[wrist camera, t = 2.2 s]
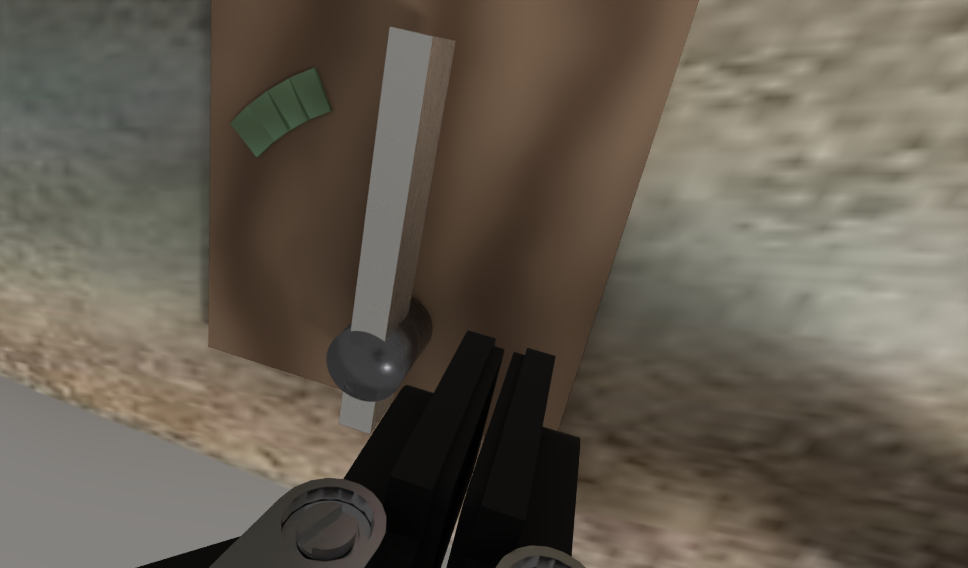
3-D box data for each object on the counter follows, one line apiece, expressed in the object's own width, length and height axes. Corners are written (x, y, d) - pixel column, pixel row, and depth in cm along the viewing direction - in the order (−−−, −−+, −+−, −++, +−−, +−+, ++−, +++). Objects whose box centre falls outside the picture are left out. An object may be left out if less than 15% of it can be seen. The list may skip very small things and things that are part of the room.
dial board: (695, 0, 23) (701, -6, 21) (552, 439, 32) (548, 458, 30) (234, -98, 25) (209, -108, 24) (224, 335, 34) (206, 348, 33)
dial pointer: (421, 389, 30) (389, 440, 26) (360, 369, 30) (319, 417, 26) (488, 47, 23) (460, 43, 19) (408, 29, 24) (363, 20, 19)
